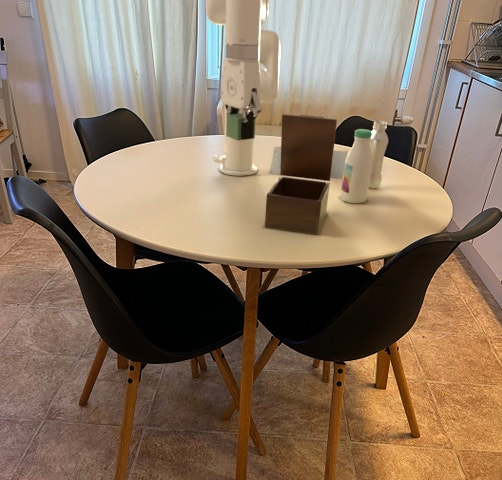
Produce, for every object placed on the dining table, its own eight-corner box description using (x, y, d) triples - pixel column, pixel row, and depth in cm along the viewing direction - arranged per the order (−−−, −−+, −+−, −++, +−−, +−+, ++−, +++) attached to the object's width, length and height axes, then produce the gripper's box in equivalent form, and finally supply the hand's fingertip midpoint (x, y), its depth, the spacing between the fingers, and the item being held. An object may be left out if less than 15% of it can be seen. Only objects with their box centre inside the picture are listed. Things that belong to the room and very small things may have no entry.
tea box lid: (336, 120, 116) (339, 112, 120) (282, 115, 119) (286, 107, 123) (329, 181, 127) (332, 172, 131) (280, 175, 130) (284, 166, 134)
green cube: (237, 140, 113) (237, 118, 110) (226, 136, 117) (226, 114, 114) (254, 138, 116) (255, 117, 113) (243, 134, 119) (243, 113, 116)
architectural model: (355, 179, 160) (361, 135, 152) (271, 173, 161) (273, 130, 154) (347, 151, 190) (352, 114, 182) (276, 147, 191) (279, 110, 184)
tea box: (317, 235, 119) (321, 201, 114) (264, 227, 122) (266, 194, 117) (326, 213, 132) (329, 182, 127) (278, 206, 135) (280, 176, 130)
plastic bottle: (380, 190, 150) (392, 125, 140) (358, 188, 151) (369, 123, 141) (380, 184, 156) (391, 120, 145) (358, 182, 157) (369, 119, 146)
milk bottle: (367, 197, 145) (379, 129, 134) (364, 205, 138) (376, 135, 128) (342, 193, 147) (352, 126, 136) (338, 201, 140) (347, 131, 130)
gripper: (208, 49, 111) (208, 130, 120) (250, 57, 99) (247, 146, 108) (235, 49, 114) (233, 127, 124) (279, 56, 103) (274, 142, 112)
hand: (240, 135), depth 116 cm, fingers closed on green cube, 5 cm apart
